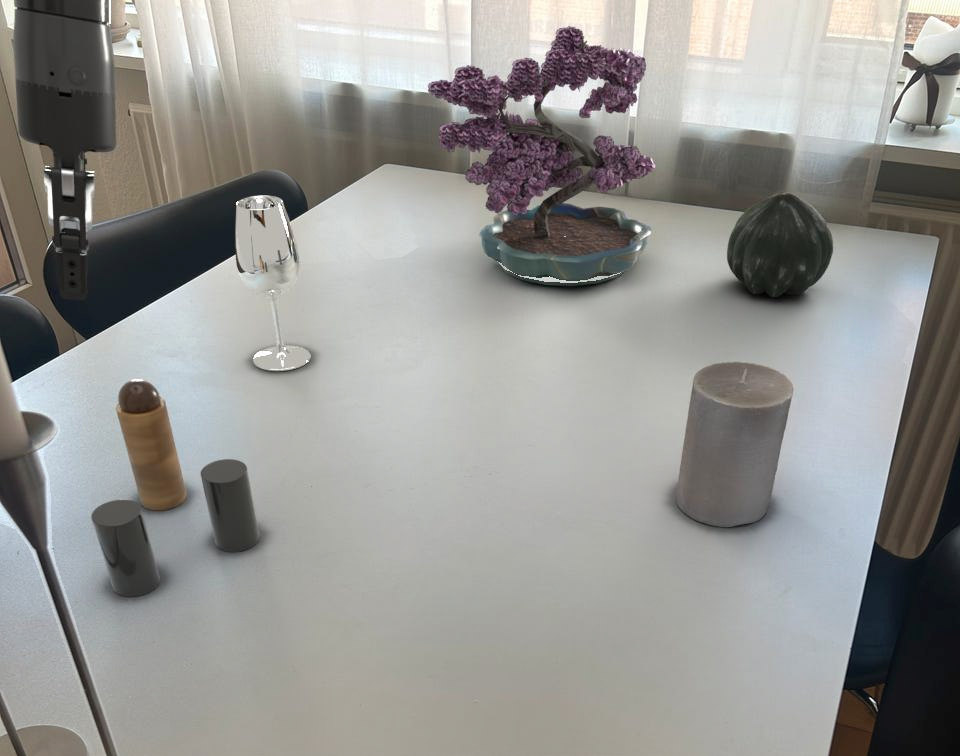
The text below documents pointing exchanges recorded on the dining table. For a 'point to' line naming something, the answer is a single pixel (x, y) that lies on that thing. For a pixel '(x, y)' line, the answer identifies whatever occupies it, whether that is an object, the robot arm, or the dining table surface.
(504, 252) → the bonsai tree
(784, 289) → the squash
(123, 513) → the dark grey upright cylinder
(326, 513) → the dining table surface
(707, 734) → the dining table surface
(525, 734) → the dining table surface
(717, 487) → the pillar candle
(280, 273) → the wineglass
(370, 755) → the dining table surface
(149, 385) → the pepper mill
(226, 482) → the grey upright cylinder
